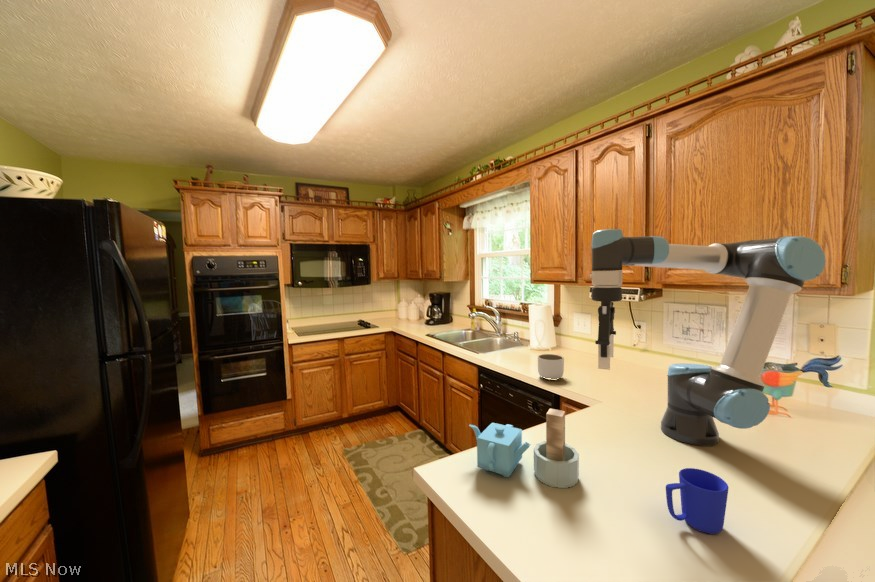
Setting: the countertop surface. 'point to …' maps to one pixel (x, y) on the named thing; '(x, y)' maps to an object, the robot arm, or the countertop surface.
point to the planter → (551, 366)
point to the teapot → (499, 448)
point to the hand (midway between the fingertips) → (606, 362)
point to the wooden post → (555, 435)
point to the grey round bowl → (556, 467)
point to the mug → (700, 499)
